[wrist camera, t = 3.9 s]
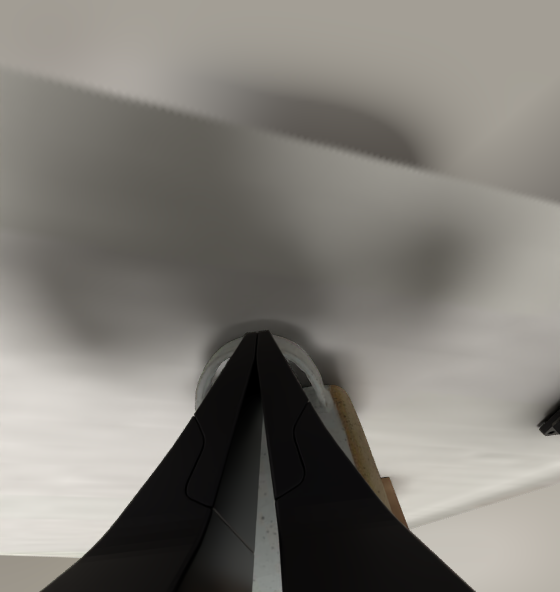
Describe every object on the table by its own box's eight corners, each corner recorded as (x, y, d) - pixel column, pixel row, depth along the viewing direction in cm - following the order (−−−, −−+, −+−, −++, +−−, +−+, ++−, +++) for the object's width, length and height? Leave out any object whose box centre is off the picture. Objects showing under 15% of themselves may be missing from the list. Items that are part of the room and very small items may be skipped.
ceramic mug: (358, 417, 16) (420, 598, 10) (248, 444, 17) (240, 622, 11) (320, 300, 11) (411, 547, 4) (161, 351, 12) (38, 609, 5)
